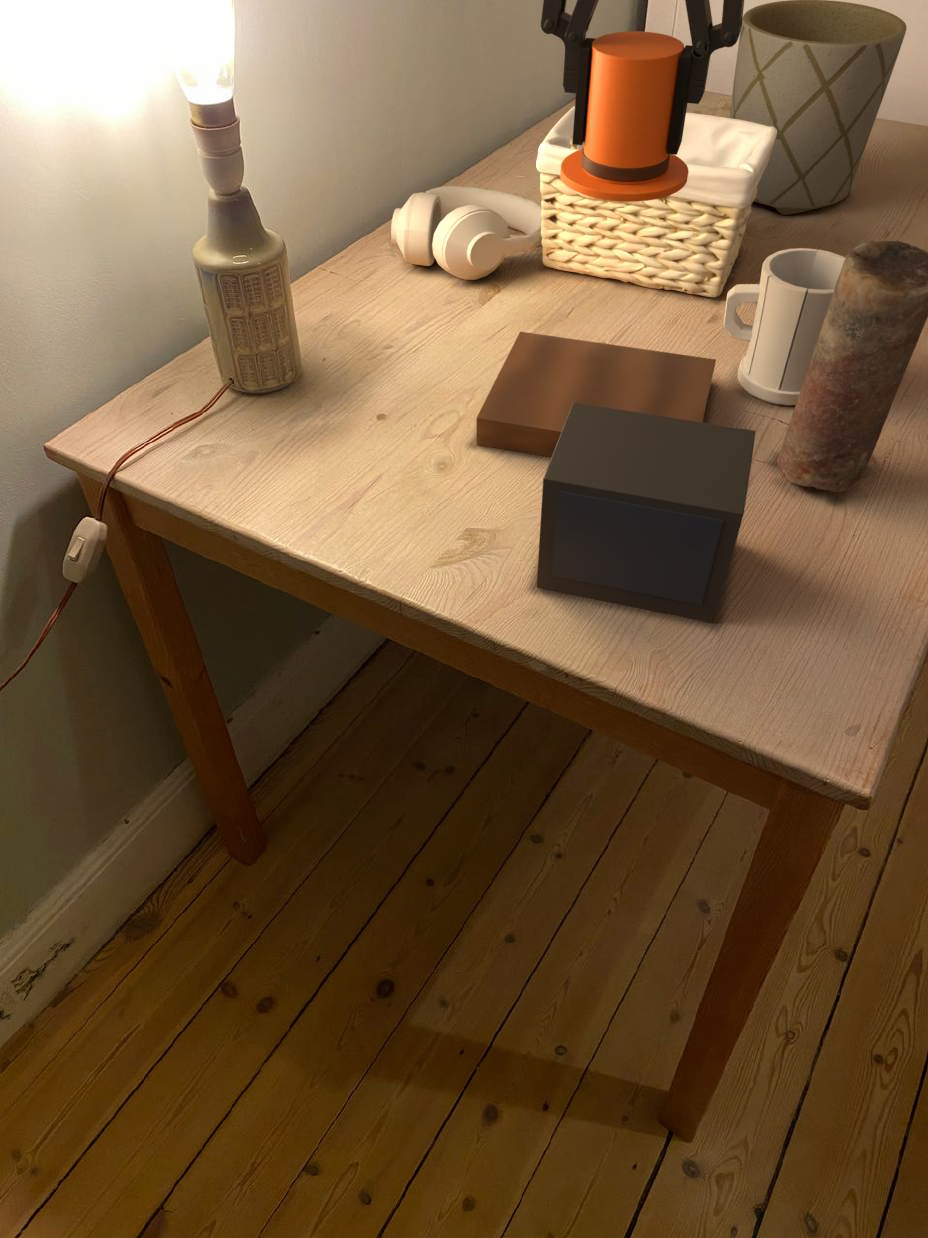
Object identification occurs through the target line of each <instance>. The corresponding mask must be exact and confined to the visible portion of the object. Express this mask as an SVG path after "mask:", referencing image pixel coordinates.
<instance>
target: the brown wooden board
mask: <svg viewBox="0 0 928 1238" xmlns="http://www.w3.org/2000/svg"><path fill="white" fill-rule="evenodd" d="M504 360H505V361H504V363H503V364H502V365H501V368H500V370H499V372H498V374H497V376H496V378H495V380H494V382H493V384H492V386H491V388H490V390H489V391H488V394H487V396H486V398H485V400H484V402H483V404H482V406H481V408H480V410H479V412H478V414H477V416H476V417H475V418H476V422H475V423H476V424H475V425H476V445H478V446H485V447H491V448H495V449H501V450H502V449H503V450H508V451H514V452H520V453H526V454H531V455H538V456H543V457H548V458H552V455H553V453H554V450H555V447H556V445H557V442H558V440H559V437H560V435H561V432H562V429H563V427H564V424H565V422H566V419H567V417H568V414H569V412H570V409H571V406H572V404H573V402H576V403H582V404H588V405H595V406H601V407H607V408H614V409H620V410H626V411H633V412H639V413H645V414H652V415H658V416H664V417H671V418H677V419H684V420H690V421H696V422H703V423H704V418H705V413H706V408H707V404H708V400H709V394H710V390H711V387H712V380H713V376H714V371H715V367H716V362H717V359H716V358H708V357H703V356H696V355H695V356H694V355H688V354H681V353H673V352H668V351H667V352H665V351H660V350H654V349H653V350H652V349H645V348H640V347H639V348H638V347H631V346H624V345H617V344H610V343H603V342H596V341H588V340H582V339H576V338H575V339H574V338H568V337H563V336H554V335H548V334H539V333H533V332H527V331H519V333H518V335H517V337H516V339H515V340H514V342H513V345H512V347H511V349H510V351H509V353H508V355H507V357H506V359H504Z"/></svg>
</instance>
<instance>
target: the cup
mask: <svg viewBox="0 0 928 1238" xmlns="http://www.w3.org/2000/svg"><path fill="white" fill-rule="evenodd" d="M845 258H846V256H843V255H840V254H837V253H835V252H833V251H827V250H823V249H817V248H806V247H797V248H788V249H787V248H786V249H783V250H779V251H776V252H774V253H772V254H770V255H768V256H766V258H765V260H764V261H763V262H762V267H761V273H760V280H759V283H737V284H735V285H734V286H733V287H732V288H730V290H728V291H727V294H726V301H725V308H724V315H723V323H722V324H723V328H724V330H725V331H726V332H727V333H728V335H729V336H730V337H731V338H734V339H737V340H741V341H747V342H748V346H747V350H746V354H744V356H743V357H742V358H741V360H740V361H739V364H738V369H737V380H738V382H739V384H740V386H741V387H742V388H743V390H745V391H746V392H747V393H748V394H749V395H751V396H752V397H754V398H756V399H758V400H760V401H762V402H766V403H769V404H772V405H778V406H787V407H789V406H796V403H797V401H798V397H799V394H800V391H801V389H802V386H803V383H804V380H805V377H806V374H807V371H808V368H809V365H810V362H811V358H812V355H813V352H814V349H815V346H816V344H817V341H818V338H819V335H820V332H821V329H822V325H823V322H824V319H825V317H826V314H827V311H828V307H829V304H830V301H831V298H832V295H833V292H834V289H835V285H836V283H837V280H838V278H839V275H840V272H841V269H842V265H843V263H844V260H845ZM744 303H751V304H752V303H754V304H755V303H756V304H755V305H756V306H755V311H754V317H753V322H752V324H747V323H744V322H743V320H742V319H741V317H740V315H739V314H738V313H737V308H738V307H739V306H740V305H741V304H744Z"/></svg>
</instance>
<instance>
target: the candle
mask: <svg viewBox="0 0 928 1238" xmlns="http://www.w3.org/2000/svg"><path fill="white" fill-rule="evenodd" d="M927 321H928V251H927V250H925V249H921V248H920V247H917V246H915V245H911V244H909V243H907V242H903V241H900V240H878V241H875V240H870V241H866V242H862V243H861V244H858V245H857V246H855V247H854V248H853V249H852V250H850V251H849V252H848V253H847V254H846V255H845V260H844V263H843V265H842V269H841V272H840V275H839V278H838V280H837V283H836V285H835V289H834V292H833V295H832V298H831V301H830V304H829V307H828V311H827V314H826V317H825V319H824V322H823V325H822V329H821V332H820V335H819V338H818V341H817V344H816V346H815V349H814V352H813V355H812V358H811V362H810V365H809V368H808V371H807V374H806V377H805V380H804V383H803V386H802V389H801V391H800V394H799V397H798V401H797V403H796V405H794V408H793V412H792V415H791V419H790V421H789V424H788V426H787V429H786V433H785V436H784V439H783V442H782V444H781V448H780V452H779V455H778V457H777V460H776V463H777V466H778V469H779V472H780V474H781V476H782V477H783V478H785V479H786V480H788V481H789V482H790V483H792V484H793V483H794V484H797V485H798V486H801V487H808V488H809V487H813V488H815V489H816V490H817V491H826V492H829V493H831V492H833V493H840V492H844V491H846V490H850V489H852V488H854V486H856V484H858V483H859V482H860V481H861V480H862V478H863V477H864V475H865V473H866V470H867V467H868V465H869V462H870V460H871V459H872V458H871V457H872V456H873V453H874V450H875V448H876V447H877V443H878V441H879V439H880V436H881V433H882V431H883V428H884V426H885V424H886V421H887V419H888V416H889V414H890V411H891V408H892V406H893V404H894V401H895V398H896V396H897V393H898V391H899V389H900V386H901V383H902V381H903V379H904V375H905V373H906V371H907V369H908V367H909V364H910V361H911V358H912V357H913V354H914V352H915V349H916V347H917V345H918V343H919V340H920V337H921V334H922V332H923V329H924V327H925V324H926V322H927Z"/></svg>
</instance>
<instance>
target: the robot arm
mask: <svg viewBox="0 0 928 1238" xmlns="http://www.w3.org/2000/svg"><path fill="white" fill-rule="evenodd" d="M684 1H685V8H686V14H687V22H688V27H689V28H688V29H689V33H690V39H691V40H690V41H691V45H690V44H689V45H688V44H686V45H684V51H683V53H682V55H681V58H680V65H679V72H678V79H677V86H676V93H675V100H674V107H673V114H672V121H671V128H670V135H669V142H668V149H667V154H675V155H677V153H678V150H679V147H680V145H681V142H682V136H683V130H684V123H685V116H686V112H687V110H688V104H694V105H695V104H696V105H699V104H700V102H701V101H702V99H703V97H704V94H705V91H706V86H707V80H708V73H709V68H710V63H711V62H710V61H711V55H712V54H713V53H714V52H715V51H717V50H721V49H724V48H731V47H734V46H735V45H736V44H737V42H739V39H740V32H741V28H742V19H743V16H744V7H745V0H723V2H722V13H721V23H717V24H714V23H713V17H712V11H711V1H710V0H684ZM599 2H600V0H576V3H575V5H574V8H573V11H572V12H571V13H572V14H570V13H568V12H566V8H567V0H543V2H542V9H541V10H542V11H541V17H540V28H541V31H542V32H543V33H544V34H546V35H553V36H555V37H557V38H558V39H560V40H561V41H562V43H563V45H564V62H563V76H562V88H563V90H564V93H566V94H575V102H574V106H575V114H574V128H573V142H572V144H574V145H582V144H583V142H584V139H585V127H586V114H587V101H588V89H589V76H590V63H591V51H592V43H593V41H594V40H595V39H597V37H596V38H594V37H587V32H588V31H589V29H590V28H589V27H590V24H591V22H592V20H593V17H594V14H595V12H596V8H597V6H598V3H599Z"/></svg>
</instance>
